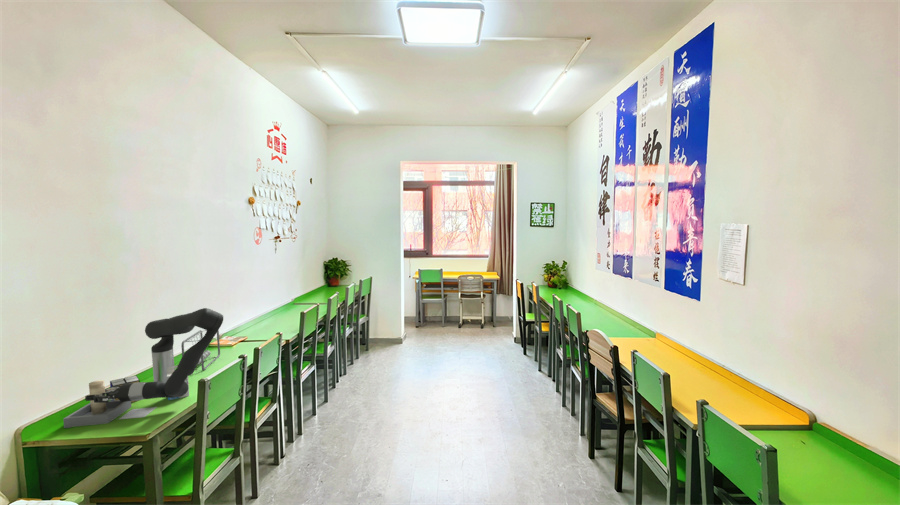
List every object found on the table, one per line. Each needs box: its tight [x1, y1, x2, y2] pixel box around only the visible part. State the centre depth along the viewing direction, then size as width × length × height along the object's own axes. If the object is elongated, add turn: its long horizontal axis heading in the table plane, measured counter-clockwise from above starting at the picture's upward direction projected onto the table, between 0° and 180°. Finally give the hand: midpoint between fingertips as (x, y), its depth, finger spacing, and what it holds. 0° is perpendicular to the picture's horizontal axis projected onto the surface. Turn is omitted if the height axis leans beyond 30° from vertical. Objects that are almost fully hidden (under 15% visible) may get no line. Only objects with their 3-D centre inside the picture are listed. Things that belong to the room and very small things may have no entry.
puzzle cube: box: [109, 375, 140, 403], centre depth 194 cm, size 10×10×10 cm
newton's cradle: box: [180, 329, 221, 371], centre depth 245 cm, size 30×10×18 cm, turn 13°
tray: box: [62, 400, 132, 429], centre depth 177 cm, size 16×16×4 cm
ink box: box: [167, 365, 190, 401], centre depth 196 cm, size 8×5×15 cm, turn 123°
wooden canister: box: [88, 379, 107, 415], centre depth 176 cm, size 5×5×13 cm
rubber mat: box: [117, 406, 158, 420], centre depth 179 cm, size 10×10×1 cm
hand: (90, 395), depth 176 cm, fingers closed on wooden canister, 5 cm apart
